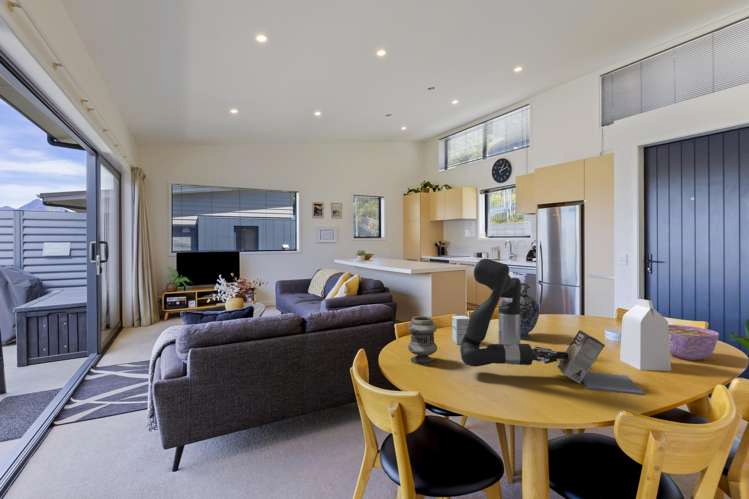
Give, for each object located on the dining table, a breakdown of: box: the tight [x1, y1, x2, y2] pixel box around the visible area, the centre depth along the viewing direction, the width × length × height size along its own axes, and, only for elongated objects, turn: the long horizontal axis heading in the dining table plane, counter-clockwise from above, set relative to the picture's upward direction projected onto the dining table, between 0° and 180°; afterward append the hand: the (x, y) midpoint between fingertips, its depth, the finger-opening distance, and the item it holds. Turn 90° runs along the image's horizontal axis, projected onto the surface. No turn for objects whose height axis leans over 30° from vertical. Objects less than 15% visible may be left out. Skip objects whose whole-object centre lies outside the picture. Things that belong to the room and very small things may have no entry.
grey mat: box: [581, 371, 645, 396], centre depth 125 cm, size 16×16×1 cm
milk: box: [619, 298, 672, 372], centre depth 143 cm, size 12×12×26 cm
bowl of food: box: [668, 324, 720, 361], centre depth 152 cm, size 20×20×12 cm
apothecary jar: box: [407, 315, 438, 365], centre depth 151 cm, size 12×12×18 cm
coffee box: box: [556, 329, 606, 384], centre depth 128 cm, size 9×6×16 cm
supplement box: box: [451, 315, 470, 346], centre depth 178 cm, size 7×7×13 cm
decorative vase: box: [500, 282, 540, 341], centre depth 187 cm, size 21×19×28 cm
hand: (567, 355), depth 129 cm, fingers closed
